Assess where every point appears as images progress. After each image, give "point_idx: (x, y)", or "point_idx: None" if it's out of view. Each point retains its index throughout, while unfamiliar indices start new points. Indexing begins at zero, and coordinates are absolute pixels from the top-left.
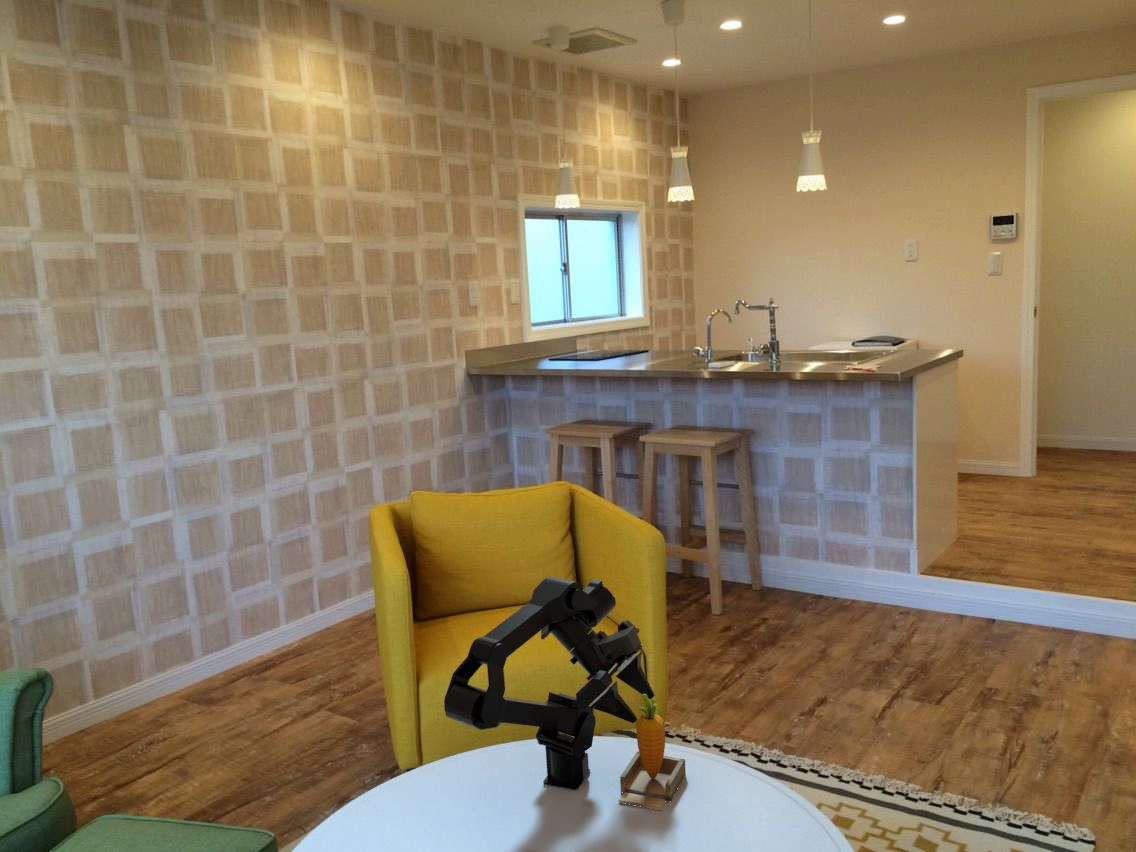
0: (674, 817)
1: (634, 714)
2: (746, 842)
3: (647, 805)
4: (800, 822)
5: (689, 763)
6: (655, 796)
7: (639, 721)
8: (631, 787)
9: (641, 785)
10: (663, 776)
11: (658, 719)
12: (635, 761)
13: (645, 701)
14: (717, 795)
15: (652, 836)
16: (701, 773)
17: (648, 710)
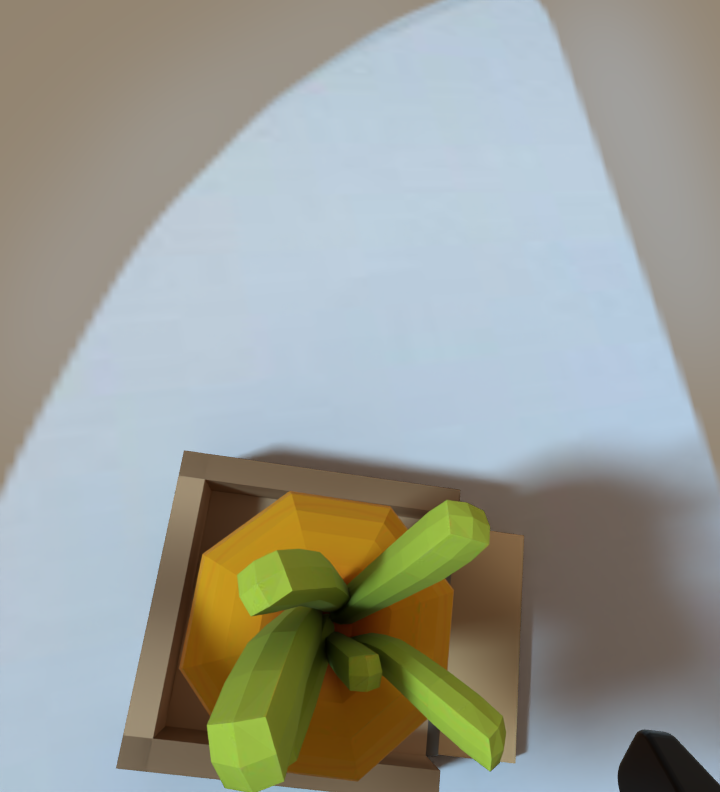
0: (546, 469)
1: (682, 781)
2: (618, 205)
3: (519, 601)
4: (457, 54)
5: (77, 466)
6: (451, 574)
7: (390, 738)
8: None
9: None
10: None
11: (349, 532)
12: None
13: (301, 707)
14: (345, 317)
15: (700, 537)
16: (170, 399)
17: (314, 653)
